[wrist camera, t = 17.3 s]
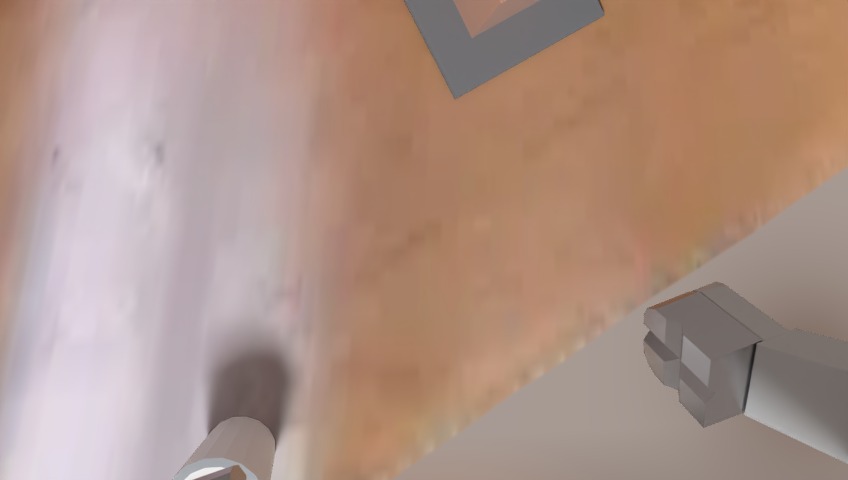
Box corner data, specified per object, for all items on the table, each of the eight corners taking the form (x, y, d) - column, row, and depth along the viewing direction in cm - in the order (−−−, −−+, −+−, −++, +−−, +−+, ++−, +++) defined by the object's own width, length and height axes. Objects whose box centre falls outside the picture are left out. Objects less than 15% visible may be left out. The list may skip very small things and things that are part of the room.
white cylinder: (205, 403, 43) (171, 452, 36) (289, 415, 43) (272, 465, 37) (193, 478, 44) (159, 539, 37) (276, 489, 45) (257, 551, 38)
